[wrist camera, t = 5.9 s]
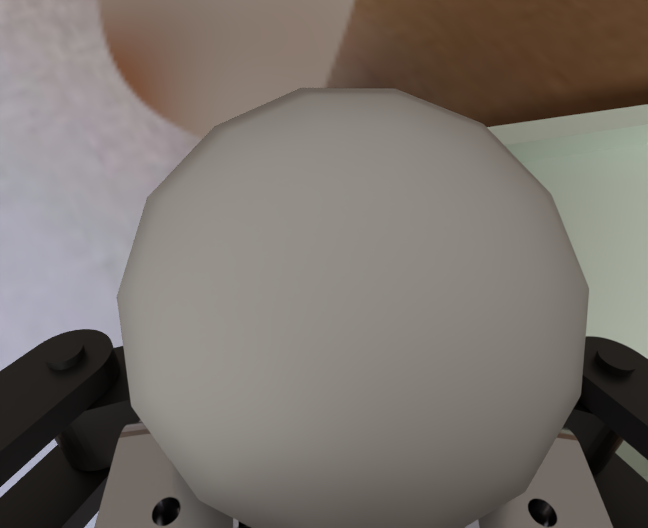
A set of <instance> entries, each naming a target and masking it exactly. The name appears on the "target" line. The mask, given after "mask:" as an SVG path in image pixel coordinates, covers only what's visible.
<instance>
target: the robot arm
mask: <svg viewBox="0 0 648 528" xmlns="http://www.w3.org/2000/svg"><path fill="white" fill-rule="evenodd" d="M53 439H55V441H56V442H57V444H58V445H57V446H56V447H55V448H54V449H52V450H51V451H50V452H49V453H48V454H47V455H46V456H45V457H44V458H43V459H42V460H41V461H39V462H38V463H37V464H36V465H35V466H34V467H33V468H32V469H31V470H30V471H29V472H28V473H26V474H25V475H24V476H23V477H22V478H21V479H20V480H19V481H18V482H17V483H16V484H15V485H13V486H12V487H11V488H10V489H9V490H8V491H7V492H6V493H5V494H4V495H3V496H2V497H1V498H0V528H84V527H85V526H86V525H87V524H88V522H89V521H90V520H91V519H92V518H93V517H94V515H95V514H96V513H97V512H98V511H99V513H98V516H97V520H96V524H95V527H94V528H251V527H249V526H247V525H245V524H243V523H241V522H240V521H238V520H236V519H234V518H232V517H230V516H228V515H226V514H224V513H222V512H221V511H219V510H217V509H215V508H213V507H211V506H209V505H207V504H205V503H203V502H201V501H200V500H199V499H198V498H197V497H196V495H195V494H194V492H193V491H192V490H191V488H190V487H189V486H188V484H187V483H186V481H185V480H184V479H183V477H182V476H181V474H180V473H179V472H178V470H177V469H176V468H175V466H174V465H173V463H172V462H171V461H170V459H169V458H168V456H167V455H166V454H165V452H164V451H163V450H162V448H161V447H160V445H159V444H158V443H157V441H156V440H155V438H154V437H153V436H152V434H151V433H150V432H149V430H148V429H147V427H146V426H145V425H144V423H143V422H142V420H141V419H140V418H139V416H138V415H137V413H136V412H135V411H134V409H133V408H132V407H131V401H130V393H129V386H128V378H127V370H126V363H125V355H124V348H123V346H121V347H116V348H113V345H112V342H111V340H110V338H109V337H108V336H107V335H106V334H104V333H102V332H100V331H97V330H90V329H82V330H74V331H69V332H66V333H62V334H59V335H57V336H54V337H52V338H50V339H48V340H46V341H44V342H43V343H41V344H39V345H38V346H36V347H35V348H34V349H32V350H31V351H29V352H28V353H26V354H25V355H23V356H22V357H20V358H19V359H18V360H16V361H15V362H13V363H12V364H10V365H9V366H7V367H6V368H4V369H3V370H1V371H0V487H1V486H2V485H3V484H4V483H5V482H7V481H8V480H9V479H10V478H11V477H12V476H13V475H14V474H15V473H16V472H18V471H19V470H20V469H21V468H22V467H23V466H24V465H25V464H26V463H28V462H29V461H30V460H31V459H32V458H33V457H34V456H35V455H36V454H38V453H39V452H40V451H41V450H42V449H43V448H44V447H45V446H46V445H47V444H49V443H50V442H51V441H52V440H53ZM624 440H625V441H626V442H627V443H628V444H629V445H630V446H632V447H633V448H634V449H635V450H636V451H637V452H639V453H640V454H641V455H642V456H643V457H644V458H646V459H647V460H648V359H647V358H646V357H644V356H643V355H641V354H640V353H638V352H637V351H635V350H633V349H632V348H630V347H628V346H626V345H624V344H621V343H619V342H616V341H613V340H610V339H607V338H602V337H595V336H586V338H585V350H584V363H583V375H582V388H581V396H580V398H579V399H578V401H577V403H576V405H575V406H574V408H573V410H572V411H571V413H570V415H569V417H568V418H567V420H566V422H565V424H564V425H563V427H562V429H561V431H560V432H559V434H558V436H557V438H556V439H555V441H554V443H553V444H552V446H551V448H550V450H549V451H548V453H547V455H546V457H545V458H544V460H543V462H542V464H541V465H540V467H539V469H538V470H537V472H536V474H535V476H534V477H533V479H532V481H531V483H530V484H529V486H528V488H527V490H526V491H525V492H524V493H523V494H521V495H519V496H518V497H516V498H514V499H512V500H511V501H509V502H507V503H505V504H504V505H502V506H500V507H499V508H497V509H495V510H493V511H492V512H490V513H488V514H487V515H485V516H483V517H481V518H480V519H478V520H476V521H474V522H473V523H471V524H469V525H468V526H466V527H464V528H648V482H647V481H646V480H645V479H644V478H643V477H642V476H641V475H640V474H638V473H637V472H636V471H635V470H634V469H633V468H632V467H631V466H630V465H628V464H627V463H626V462H625V461H624V460H623V459H622V458H621V457H619V456H618V455H617V454H616V453H615V452H616V451H617V449H618V448H619V447H620V445H621V444H622V442H623V441H624Z"/></svg>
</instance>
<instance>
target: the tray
mask: <svg viewBox="0 0 648 528" xmlns="http://www.w3.org/2000/svg"><path fill="white" fill-rule="evenodd" d="M487 128H488V129H489V130H490V131H491V132H492V133H493V134H494V135H495V136H496V137H497V138H498V139H499V140H500V142H501V143H502V144H503V145H504V146H505V147H506V148H507V149H508V150H509V151H510V152H511V153H512V154H513V155H514V156H515V157H516V158H517V159H518V160H519V161H520V162H521V163H522V164H523V165H524V166H525V167H526V168H527V169H528V170H529V171H530V172H531V173H532V174H533V176H534V177H535V178H536V179H537V180H538V181H539V182H540V183H541V184H542V185H543V186H544V187H545V188H546V189H547V190H548V191H549V192H550V193H551V194H552V197H553V199H554V202H555V204H556V207H557V209H558V212H559V214H560V217H561V219H562V222H563V224H564V227H565V229H566V232H567V234H568V237H569V239H570V242H571V244H572V247H573V249H574V252H575V254H576V257H577V259H578V262H579V264H580V267H581V269H582V272H583V274H584V277H585V279H586V282H587V284H588V287H589V300H588V313H587V325H586V336H595V337H602V338H607V339H610V340H613V341H616V342H619V343H621V344H624V345H626V346H628V347H630V348H632V349H633V350H635V351H637V352H638V353H640V354H641V355H643V356H644V357H646V358H647V359H648V104H646V105H639V106H632V107H625V108H618V109H611V110H604V111H597V112H590V113H583V114H576V115H569V116H562V117H555V118H549V119H542V120H535V121H528V122H521V123H514V124H507V125H500V126H493V127H487ZM615 453H616V454H617V455H618V456H619V457H621V458H622V459H623V460H624V461H625V462H626V463H627V464H628V465H630V466H631V467H632V468H633V469H634V470H635V471H636V472H637V473H638V474H640V475H641V476H642V477H643V478H644V479H645V480H646V481H647V482H648V460H647V459H646V458H644V457H643V456H642V455H641V454H640V453H639V452H637V451H636V450H635V449H634V448H633V447H632V446H630V445H629V444H628V443H627V442H626V441H625V440H624V441H623V442H622V444H621V445H620V447H619V448H618V449H617V451H616V452H615Z"/></svg>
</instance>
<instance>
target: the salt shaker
mask: <svg viewBox="0 0 648 528" xmlns="http://www.w3.org/2000/svg"><path fill="white" fill-rule="evenodd" d="M588 300H589V287H588V284H587V282H586V279H585V277H584V274H583V272H582V269H581V267H580V264H579V262H578V259H577V257H576V254H575V252H574V249H573V247H572V244H571V242H570V239H569V237H568V234H567V232H566V229H565V227H564V224H563V222H562V219H561V217H560V214H559V212H558V209H557V207H556V204H555V202H554V199H553V197H552V194H551V193H550V192H549V191H548V190H547V189H546V188H545V187H544V186H543V185H542V184H541V183H540V182H539V181H538V180H537V179H536V178H535V177H534V176H533V174H532V173H531V172H530V171H529V170H528V169H527V168H526V167H525V166H524V165H523V164H522V163H521V162H520V161H519V160H518V159H517V158H516V157H515V156H514V155H513V154H512V153H511V152H510V151H509V150H508V149H507V148H506V147H505V146H504V145H503V144H502V143H501V142H500V140H499V139H498V138H497V137H496V136H495V135H494V134H493V133H492V132H491V131H490V130H489V129H488V128H487V127H486V126H485V125H484V124H483V123H480V122H478V121H475V120H473V119H470V118H468V117H465V116H463V115H460V114H458V113H455V112H453V111H450V110H448V109H445V108H443V107H440V106H438V105H435V104H433V103H430V102H428V101H425V100H423V99H420V98H418V97H415V96H413V95H410V94H408V93H405V92H403V91H400V90H398V89H395V88H300V89H298V90H295V91H293V92H291V93H289V94H286V95H284V96H282V97H280V98H278V99H275V100H273V101H271V102H269V103H266V104H264V105H262V106H260V107H257V108H255V109H253V110H250V111H248V112H246V113H244V114H241V115H239V116H237V117H235V118H232V119H230V120H228V121H226V122H224V123H221V124H219V125H217V126H215V127H214V128H213V129H212V130H211V131H210V132H209V133H208V134H207V135H206V136H205V137H204V138H203V139H202V140H201V141H200V142H199V144H198V145H197V146H196V147H195V148H194V149H193V150H192V151H191V152H190V153H189V154H188V155H187V156H186V157H185V158H184V159H183V160H182V162H181V163H180V164H179V165H178V166H177V167H176V168H175V169H174V170H173V171H172V172H171V173H170V174H169V175H168V176H167V177H166V179H165V180H164V181H163V182H162V183H161V184H160V185H159V186H158V187H157V188H156V189H155V190H154V191H153V192H152V193H151V194H150V196H149V197H148V198H147V200H146V203H145V207H144V210H143V213H142V216H141V220H140V223H139V226H138V229H137V233H136V236H135V239H134V243H133V246H132V249H131V252H130V256H129V259H128V262H127V265H126V269H125V272H124V275H123V278H122V282H121V285H120V288H119V291H118V295H117V302H118V309H119V317H120V325H121V332H122V340H123V348H124V355H125V363H126V370H127V378H128V386H129V393H130V401H131V407H132V408H133V409H134V411H135V412H136V413H137V415H138V416H139V418H140V419H141V420H142V422H143V423H144V425H145V426H146V427H147V429H148V430H149V432H150V433H151V434H152V436H153V437H154V438H155V440H156V441H157V443H158V444H159V445H160V447H161V448H162V450H163V451H164V452H165V454H166V455H167V456H168V458H169V459H170V461H171V462H172V463H173V465H174V466H175V468H176V469H177V470H178V472H179V473H180V474H181V476H182V477H183V479H184V480H185V481H186V483H187V484H188V486H189V487H190V488H191V490H192V491H193V492H194V494H195V495H196V497H197V498H198V499H199V500H200V501H201V502H203V503H205V504H207V505H209V506H211V507H213V508H215V509H217V510H219V511H221V512H222V513H224V514H226V515H228V516H230V517H232V518H234V519H236V520H238V521H240V522H241V523H243V524H245V525H247V526H249V527H251V528H464V527H466V526H468V525H469V524H471V523H473V522H474V521H476V520H478V519H480V518H481V517H483V516H485V515H487V514H488V513H490V512H492V511H493V510H495V509H497V508H499V507H500V506H502V505H504V504H505V503H507V502H509V501H511V500H512V499H514V498H516V497H518V496H519V495H521V494H523V493H524V492H525V491H526V490H527V488H528V486H529V484H530V483H531V481H532V479H533V477H534V476H535V474H536V472H537V470H538V469H539V467H540V465H541V464H542V462H543V460H544V458H545V457H546V455H547V453H548V451H549V450H550V448H551V446H552V444H553V443H554V441H555V439H556V438H557V436H558V434H559V432H560V431H561V429H562V427H563V425H564V424H565V422H566V420H567V418H568V417H569V415H570V413H571V411H572V410H573V408H574V406H575V405H576V403H577V401H578V399H579V398H580V396H581V388H582V375H583V363H584V350H585V338H586V325H587V313H588Z"/></svg>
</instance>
